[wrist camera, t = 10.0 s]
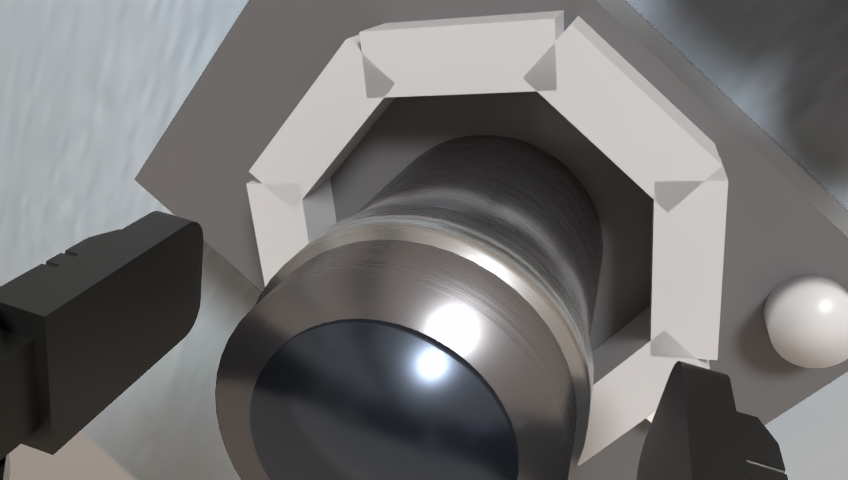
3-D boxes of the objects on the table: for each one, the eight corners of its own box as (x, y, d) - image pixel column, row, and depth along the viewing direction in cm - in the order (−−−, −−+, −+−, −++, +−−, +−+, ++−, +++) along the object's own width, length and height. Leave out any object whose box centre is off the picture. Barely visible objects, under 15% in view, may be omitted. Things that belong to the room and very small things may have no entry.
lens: (389, 104, 15) (201, 222, 9) (638, 156, 14) (627, 330, 8) (364, 316, 17) (197, 535, 11) (580, 374, 16) (534, 653, 10)
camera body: (237, 130, 22) (93, 199, 16) (447, -168, 18) (349, -220, 12) (577, 435, 23) (554, 604, 17) (862, 224, 18) (962, 357, 13)
